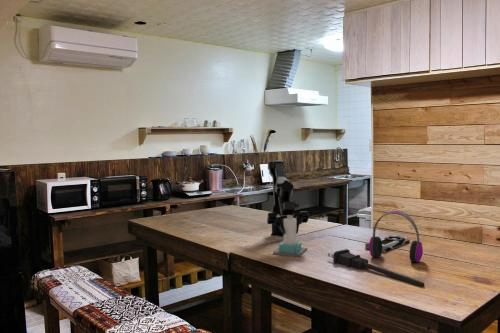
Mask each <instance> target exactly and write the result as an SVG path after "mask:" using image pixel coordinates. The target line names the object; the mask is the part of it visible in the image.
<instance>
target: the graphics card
mask: <svg viewBox="0 0 500 333" xmlns="http://www.w3.org/2000/svg"><path fill="white" fill-rule="evenodd" d="M380 239H381V241H382V253H385V254H387V253H388V252H390V251H392V250H394V249H398V248H400V247H402V246H405V245H407V244H409V243H410V241H411V240H410V239H409V237H406V236H402V235H395V234H393V235H392V234H391V235H389V236H387V237H384V238H383V237H382V238H380ZM369 244H370V242H366V243H365V244H364V245H365V247H364V249H365V250H370V249H369Z"/></svg>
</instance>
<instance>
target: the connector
mask: <svg viewBox="0 0 500 333" xmlns="http://www.w3.org/2000/svg"><path fill="white" fill-rule="evenodd" d="M284 230H285V234H284V235H283V241H284V245H293V246H295V245H296V244H297V242H298V241H297V240H298V239H297V238H298V236H297V235H298V234H297V231H296V230H297V227H296V219H295V218H293V215H287V218H285V219H284Z"/></svg>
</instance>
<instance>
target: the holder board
mask: <svg viewBox="0 0 500 333" xmlns="http://www.w3.org/2000/svg"><path fill="white" fill-rule="evenodd" d="M306 251H308V247H302V242H301V241H297V244H296V245H295V246H293V245H284V240H283V241H282V242H280V243H279V244H278V248H277V249H275V250H274V251H273V252H272V255H281V256H288V257H289V256H290V257H299V258H300V257H301V256H302V255H303V254H304V253H306Z"/></svg>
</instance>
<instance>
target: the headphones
mask: <svg viewBox="0 0 500 333" xmlns="http://www.w3.org/2000/svg"><path fill="white" fill-rule="evenodd" d="M391 214H392V215H393V214H394V215H395V214H396V215H400V216H402V217H404V218H405V219H406V220H408V222H409V223H411V225H412V227H413V228H414V231H415V233H416V239H417V240H413V241H412V242H411V244H410V248H409V261H410V262H411V263H415V262H416V263H419V264H420V261H421V260H422V257H423V254H424V253H423V250H424V248H423V242H422V241H420V232H419V229H418V227H417V224H416V223H415V221H414V219H413V218H412V217H411V216H410V215H409V214H407V213H406V212H403V211H399V210H391V211H388V212H386V213H384V214H383V215H381V216H380V217H379V218H378V219H377V220H376V222H375V224H374V227H373V229H372V236H371V237H370V239H369V243H370V244H369V249H368V250H369V254H370V256H371V258H377V259H378V258H380V257H381V256H382V253H383V252H382V241H381V239H382V238H381V237H380V236H376V229H377V226H378V224H379V222H380V221H381V220H382V218H384V217H385V216H387V215H391Z"/></svg>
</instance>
